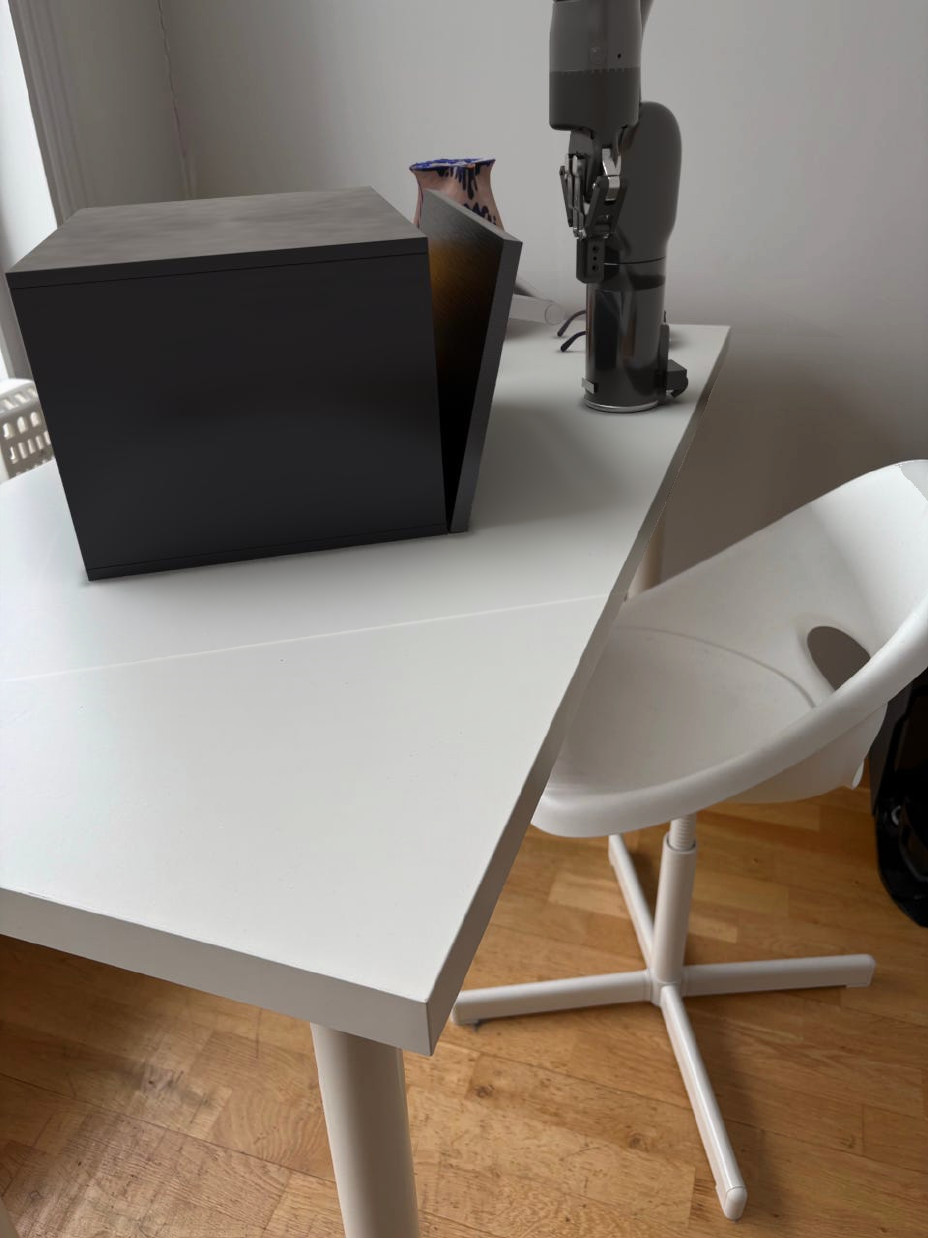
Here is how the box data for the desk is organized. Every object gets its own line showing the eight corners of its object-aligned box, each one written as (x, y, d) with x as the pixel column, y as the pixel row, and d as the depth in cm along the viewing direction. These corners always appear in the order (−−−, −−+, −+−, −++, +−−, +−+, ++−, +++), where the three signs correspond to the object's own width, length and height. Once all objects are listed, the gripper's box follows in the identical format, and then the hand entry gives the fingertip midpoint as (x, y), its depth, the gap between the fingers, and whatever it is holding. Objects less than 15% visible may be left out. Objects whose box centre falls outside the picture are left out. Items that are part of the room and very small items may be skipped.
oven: (390, 407, 124) (370, 185, 112) (447, 535, 90) (427, 236, 77) (132, 436, 120) (80, 208, 107) (88, 582, 86) (4, 272, 73)
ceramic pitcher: (439, 352, 147) (427, 169, 134) (383, 326, 163) (368, 161, 151) (539, 333, 153) (536, 158, 141) (475, 310, 170) (468, 151, 158)
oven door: (453, 412, 126) (491, 199, 115) (532, 539, 92) (597, 254, 81) (392, 405, 124) (424, 188, 113) (450, 531, 90) (504, 238, 78)
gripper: (666, 61, 76) (654, 292, 84) (612, 63, 87) (606, 266, 96) (573, 66, 75) (570, 299, 83) (531, 66, 86) (532, 272, 95)
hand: (589, 281), depth 90 cm, fingers closed
